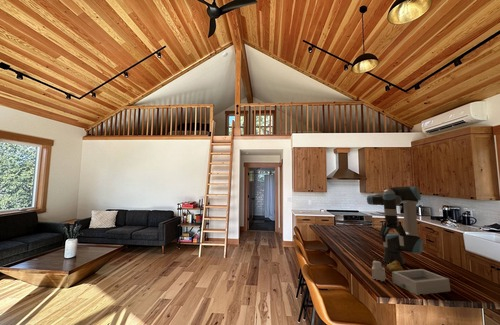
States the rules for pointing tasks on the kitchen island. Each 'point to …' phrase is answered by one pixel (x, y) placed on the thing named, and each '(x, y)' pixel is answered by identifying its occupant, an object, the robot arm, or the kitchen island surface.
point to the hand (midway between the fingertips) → (393, 246)
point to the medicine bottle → (378, 270)
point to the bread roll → (394, 266)
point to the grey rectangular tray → (421, 281)
